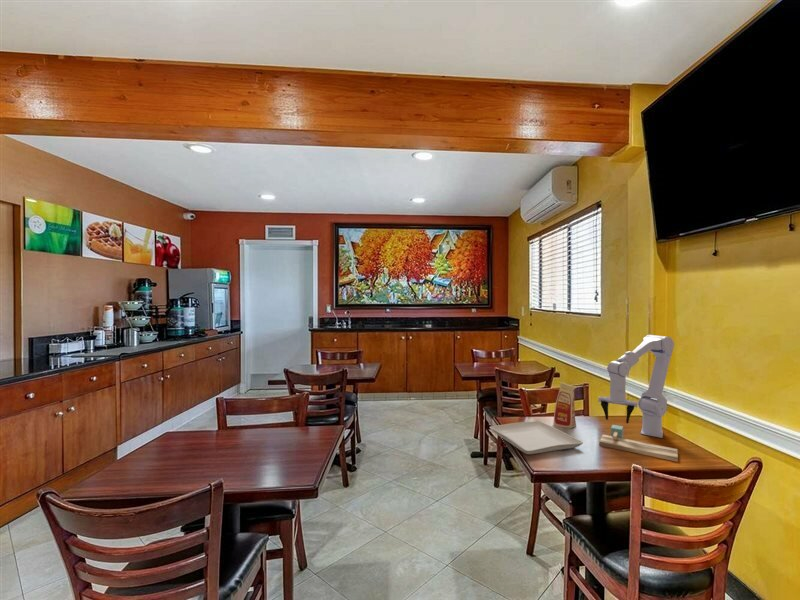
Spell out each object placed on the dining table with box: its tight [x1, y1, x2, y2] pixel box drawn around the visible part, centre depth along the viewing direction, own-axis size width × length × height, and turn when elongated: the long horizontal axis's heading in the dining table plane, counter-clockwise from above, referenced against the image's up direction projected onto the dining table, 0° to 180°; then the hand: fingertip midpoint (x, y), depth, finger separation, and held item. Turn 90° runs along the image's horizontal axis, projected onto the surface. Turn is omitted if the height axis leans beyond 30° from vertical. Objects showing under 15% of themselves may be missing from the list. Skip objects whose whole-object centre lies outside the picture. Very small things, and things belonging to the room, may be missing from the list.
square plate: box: [489, 420, 584, 455], centre depth 159 cm, size 27×27×4 cm
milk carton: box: [552, 381, 577, 429], centre depth 181 cm, size 9×9×20 cm
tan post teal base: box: [610, 424, 624, 440], centre depth 160 cm, size 12×4×5 cm, turn 144°
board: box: [598, 434, 679, 463], centre depth 152 cm, size 10×26×2 cm, turn 54°
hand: (617, 420), depth 163 cm, fingers open, 7 cm apart
